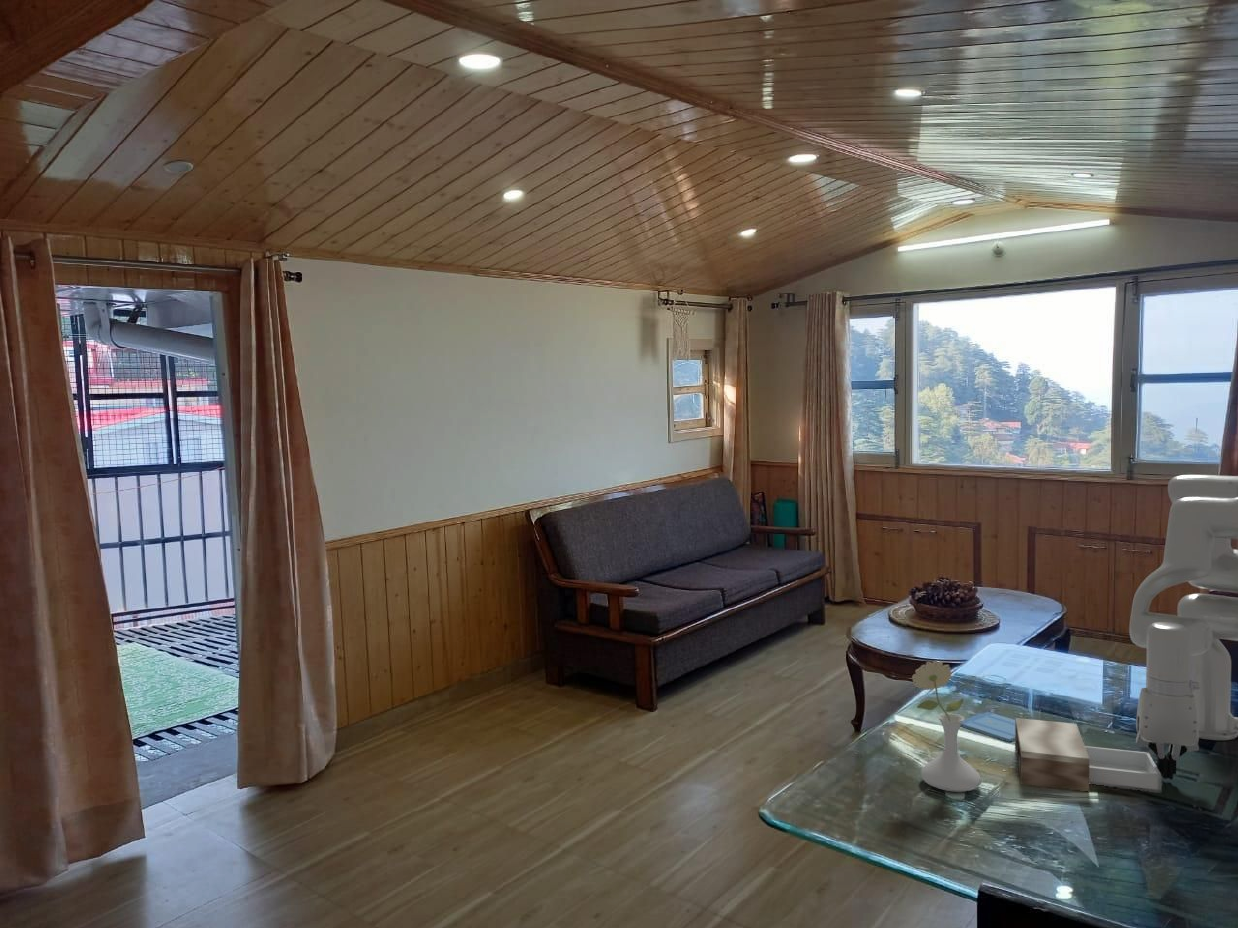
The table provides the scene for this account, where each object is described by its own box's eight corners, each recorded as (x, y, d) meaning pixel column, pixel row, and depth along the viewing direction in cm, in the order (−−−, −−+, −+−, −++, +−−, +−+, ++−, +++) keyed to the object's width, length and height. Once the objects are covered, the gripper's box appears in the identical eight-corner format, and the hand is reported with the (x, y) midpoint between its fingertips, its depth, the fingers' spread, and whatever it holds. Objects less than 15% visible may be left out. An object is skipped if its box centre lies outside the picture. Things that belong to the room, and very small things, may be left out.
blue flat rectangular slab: (1040, 732, 204) (1040, 727, 204) (1009, 744, 197) (1009, 738, 197) (987, 716, 215) (987, 711, 215) (957, 726, 209) (957, 721, 209)
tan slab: (1076, 754, 190) (1076, 723, 189) (1089, 792, 171) (1089, 758, 171) (1015, 747, 194) (1015, 717, 194) (1021, 783, 175) (1021, 750, 175)
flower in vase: (979, 777, 179) (980, 656, 178) (983, 800, 168) (984, 672, 167) (912, 769, 183) (912, 651, 182) (911, 792, 173) (911, 666, 171)
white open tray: (1148, 769, 181) (1148, 752, 181) (1161, 793, 170) (1161, 775, 170) (1072, 760, 186) (1072, 744, 186) (1080, 783, 175) (1080, 766, 175)
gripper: (1207, 683, 175) (1205, 773, 176) (1121, 676, 180) (1120, 764, 181) (1218, 695, 168) (1215, 789, 169) (1128, 687, 173) (1127, 779, 174)
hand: (1166, 776), depth 175 cm, fingers closed
